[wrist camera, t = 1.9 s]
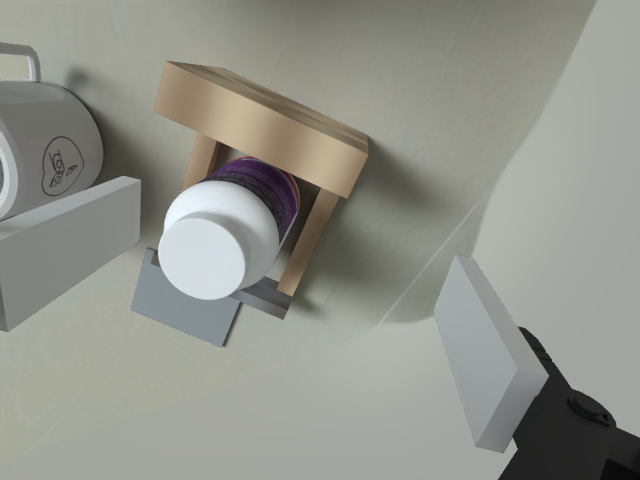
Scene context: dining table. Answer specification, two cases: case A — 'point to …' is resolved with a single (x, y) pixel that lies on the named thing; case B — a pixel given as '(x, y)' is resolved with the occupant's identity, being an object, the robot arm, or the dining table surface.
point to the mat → (181, 306)
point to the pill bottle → (228, 228)
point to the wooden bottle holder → (263, 153)
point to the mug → (43, 141)
